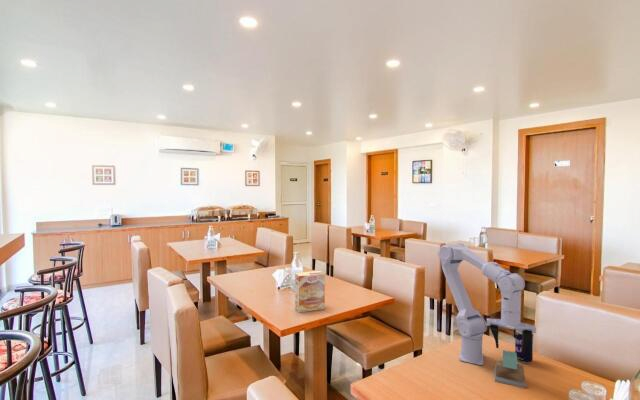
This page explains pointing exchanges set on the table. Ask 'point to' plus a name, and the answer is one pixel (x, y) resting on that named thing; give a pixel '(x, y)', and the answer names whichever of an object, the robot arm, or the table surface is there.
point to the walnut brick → (509, 372)
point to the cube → (509, 359)
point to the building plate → (509, 380)
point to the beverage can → (521, 356)
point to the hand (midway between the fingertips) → (510, 349)
